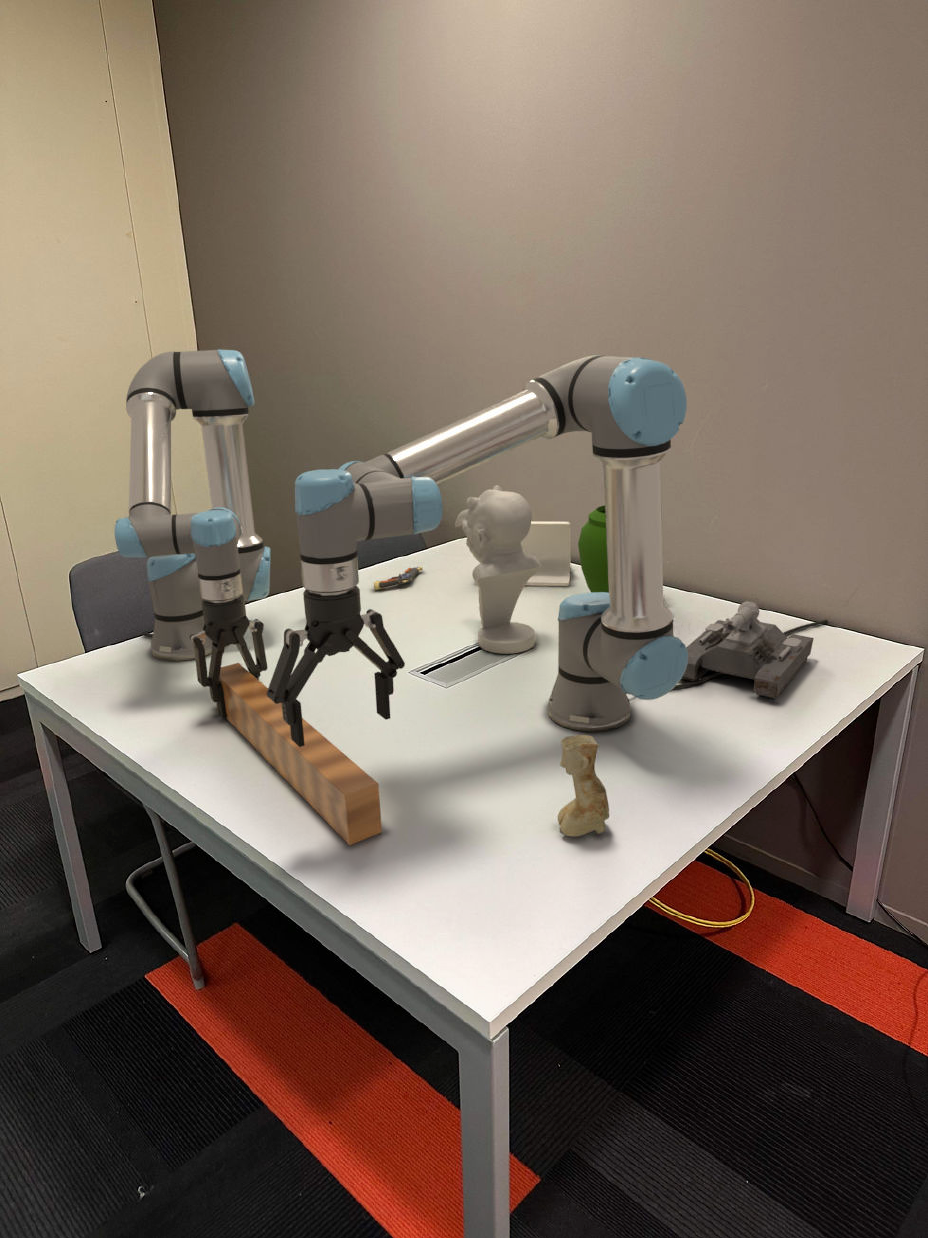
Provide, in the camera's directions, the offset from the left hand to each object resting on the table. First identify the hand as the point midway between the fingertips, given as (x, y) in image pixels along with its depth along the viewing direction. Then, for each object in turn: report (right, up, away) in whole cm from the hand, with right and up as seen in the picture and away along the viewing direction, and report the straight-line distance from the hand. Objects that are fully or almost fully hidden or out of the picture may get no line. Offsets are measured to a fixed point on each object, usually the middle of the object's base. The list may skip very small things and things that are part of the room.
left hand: (238, 710), depth 164 cm
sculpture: (+61, -13, -39) cm, 73 cm away
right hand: (+26, +2, -42) cm, 49 cm away
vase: (+82, +21, +51) cm, 98 cm away
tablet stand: (+60, +30, +75) cm, 101 cm away
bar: (+13, -7, -18) cm, 23 cm away
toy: (+101, +7, +12) cm, 102 cm away
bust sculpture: (+50, +13, +31) cm, 60 cm away
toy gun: (+25, +28, +74) cm, 83 cm away
